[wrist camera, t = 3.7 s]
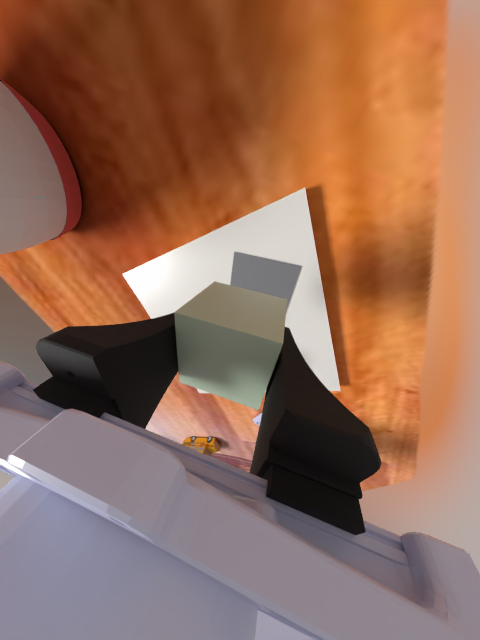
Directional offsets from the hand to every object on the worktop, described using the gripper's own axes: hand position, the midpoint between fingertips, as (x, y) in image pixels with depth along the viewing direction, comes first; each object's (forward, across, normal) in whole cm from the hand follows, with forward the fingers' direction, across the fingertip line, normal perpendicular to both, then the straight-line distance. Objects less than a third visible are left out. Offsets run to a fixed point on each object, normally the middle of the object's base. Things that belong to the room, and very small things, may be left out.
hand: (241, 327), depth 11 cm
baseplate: (+8, +2, +6) cm, 11 cm away
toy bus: (+9, +6, +42) cm, 43 cm away
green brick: (+1, 0, 0) cm, 1 cm away
